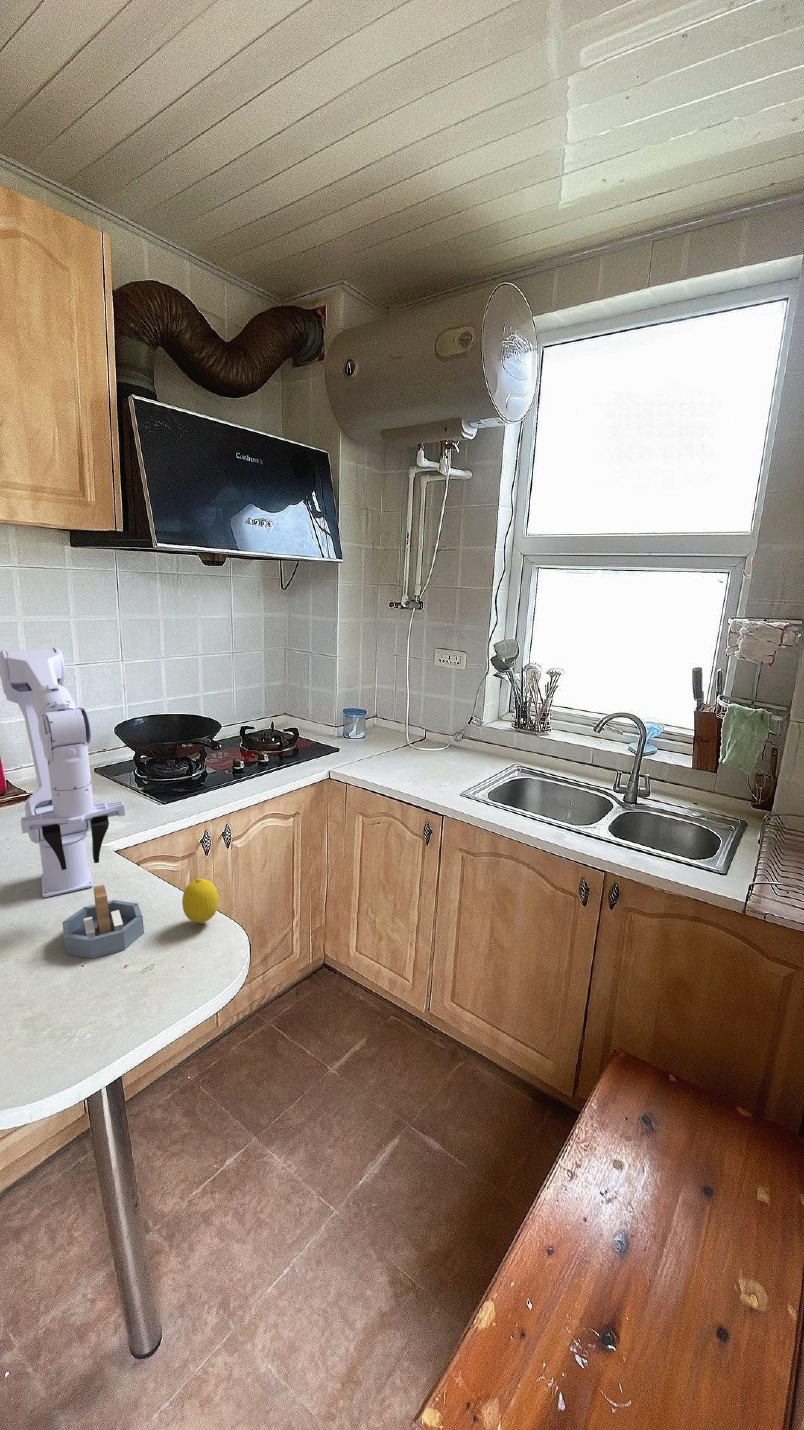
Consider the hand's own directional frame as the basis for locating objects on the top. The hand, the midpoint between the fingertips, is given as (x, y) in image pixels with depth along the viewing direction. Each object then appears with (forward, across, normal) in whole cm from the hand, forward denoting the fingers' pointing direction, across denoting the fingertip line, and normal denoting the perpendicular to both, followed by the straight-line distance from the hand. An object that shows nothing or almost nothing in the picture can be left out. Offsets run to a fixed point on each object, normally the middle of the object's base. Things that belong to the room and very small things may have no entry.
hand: (80, 863), depth 98 cm
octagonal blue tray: (+9, +2, -8) cm, 13 cm away
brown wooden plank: (+9, +2, -8) cm, 12 cm away
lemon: (+10, +16, -12) cm, 22 cm away
